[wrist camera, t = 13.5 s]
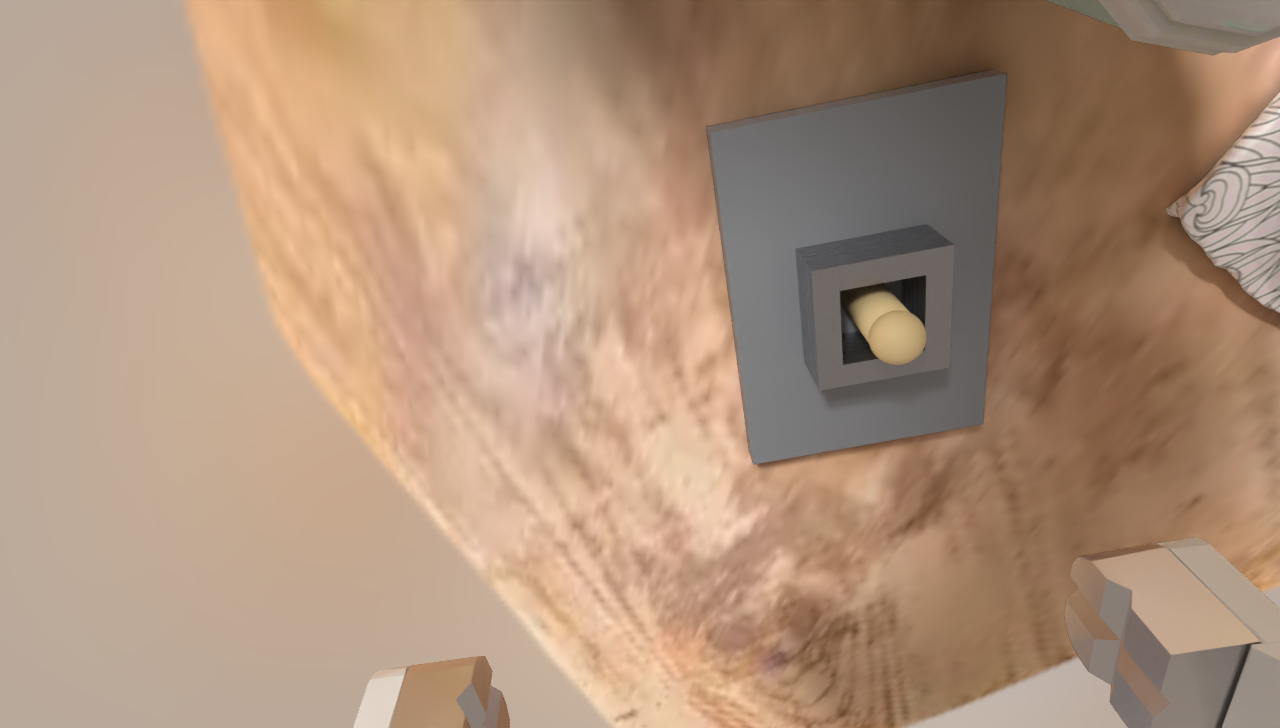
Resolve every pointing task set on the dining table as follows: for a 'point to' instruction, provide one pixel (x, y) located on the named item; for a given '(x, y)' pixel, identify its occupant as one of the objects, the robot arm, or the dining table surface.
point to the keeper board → (846, 208)
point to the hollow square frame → (863, 263)
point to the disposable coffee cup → (1188, 21)
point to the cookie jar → (1242, 209)
